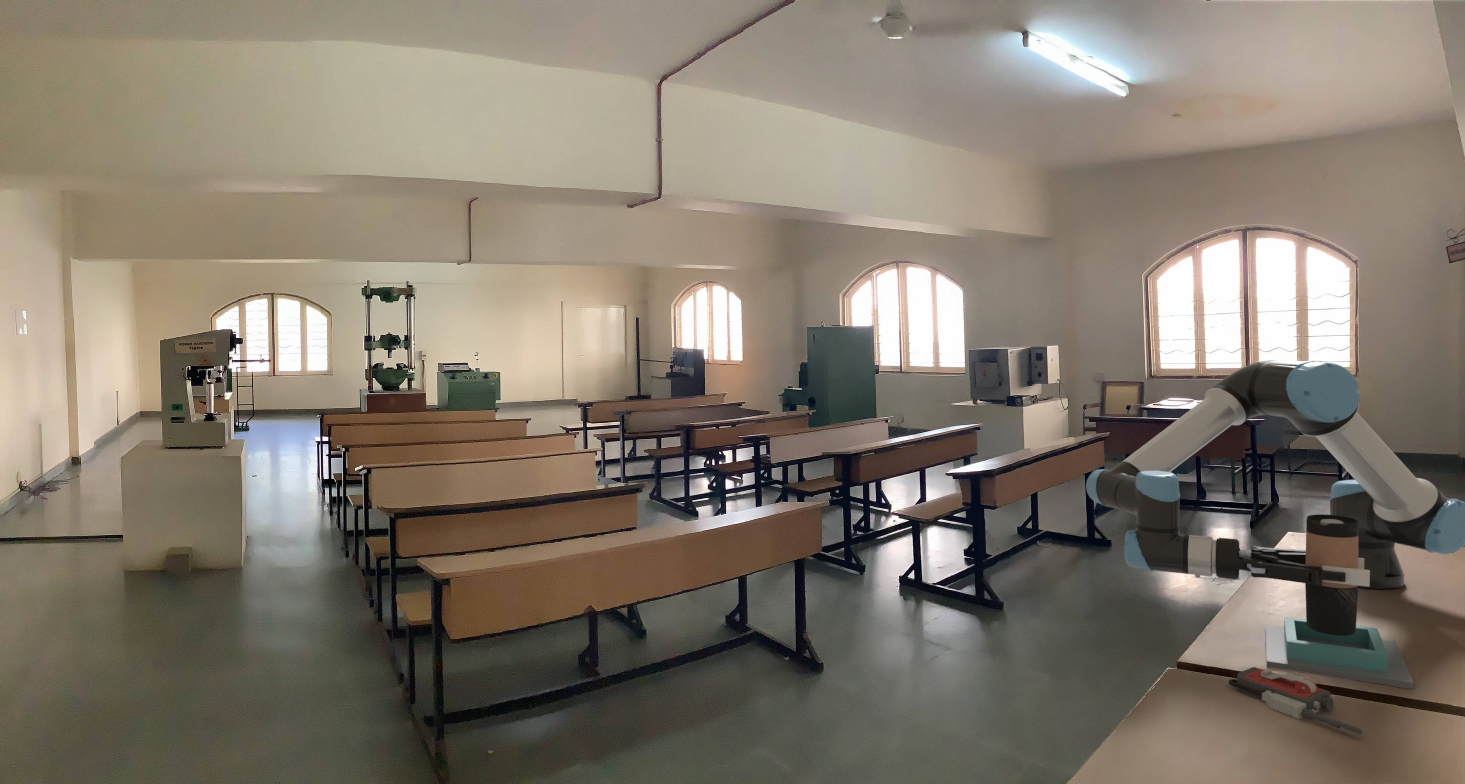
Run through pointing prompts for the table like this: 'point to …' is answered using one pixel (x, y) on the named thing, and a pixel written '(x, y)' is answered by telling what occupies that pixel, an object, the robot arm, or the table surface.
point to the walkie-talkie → (1288, 695)
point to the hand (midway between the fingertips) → (1366, 571)
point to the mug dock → (1336, 654)
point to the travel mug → (1335, 547)
